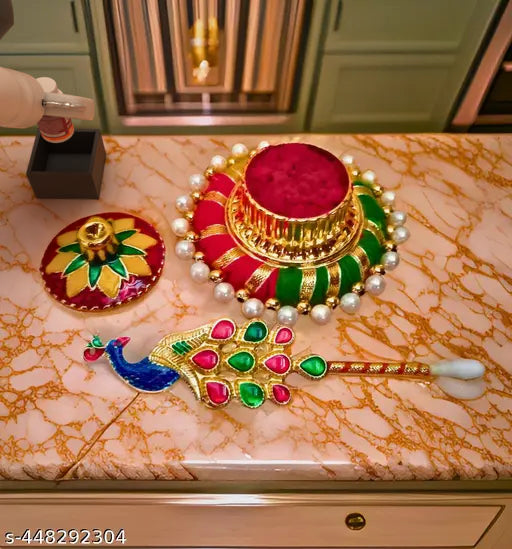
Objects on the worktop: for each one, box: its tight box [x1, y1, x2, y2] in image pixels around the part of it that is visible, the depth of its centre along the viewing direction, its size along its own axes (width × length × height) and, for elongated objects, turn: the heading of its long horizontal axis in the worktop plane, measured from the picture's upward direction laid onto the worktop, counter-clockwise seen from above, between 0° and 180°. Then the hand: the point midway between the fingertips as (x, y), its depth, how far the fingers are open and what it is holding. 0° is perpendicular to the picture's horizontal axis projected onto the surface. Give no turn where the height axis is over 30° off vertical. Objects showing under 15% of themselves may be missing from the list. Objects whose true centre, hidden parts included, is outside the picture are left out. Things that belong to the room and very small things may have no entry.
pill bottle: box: [35, 76, 75, 143], centre depth 106 cm, size 6×6×11 cm
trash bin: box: [25, 127, 107, 200], centre depth 118 cm, size 13×13×7 cm
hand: (50, 106), depth 106 cm, fingers closed on pill bottle, 6 cm apart
